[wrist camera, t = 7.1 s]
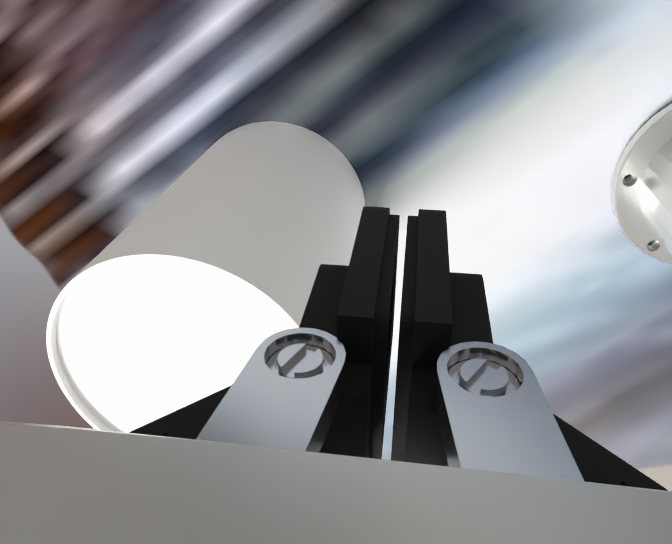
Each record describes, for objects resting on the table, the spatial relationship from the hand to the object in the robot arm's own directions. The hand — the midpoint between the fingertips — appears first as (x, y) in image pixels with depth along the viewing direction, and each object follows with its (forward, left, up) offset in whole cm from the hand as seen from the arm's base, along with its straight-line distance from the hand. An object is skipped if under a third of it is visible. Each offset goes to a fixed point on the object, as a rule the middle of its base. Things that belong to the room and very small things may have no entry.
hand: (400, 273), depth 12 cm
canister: (+10, +12, -29) cm, 33 cm away
